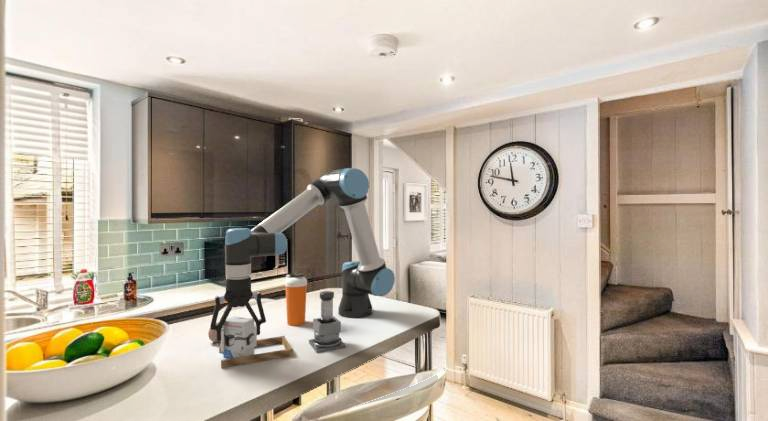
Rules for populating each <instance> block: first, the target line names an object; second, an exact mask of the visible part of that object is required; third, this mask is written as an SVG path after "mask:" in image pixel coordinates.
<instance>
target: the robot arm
mask: <svg viewBox="0 0 768 421" xmlns="http://www.w3.org/2000/svg"><path fill="white" fill-rule="evenodd" d="M369 190H370V181H369V178H368V176H367V174H366V173H365V172H364V171H363V170H361V169H359V168H355V167H347V168H346V167H345V168H341V169H332V170H328V171H327V172H325V173H323V174H322V175H320V176H318V177H317V178H316V179H315V180H313V181H312V182H311V183H309V184H308V185H307V186H306V189H305V190H304V191H302V192H301V193H300V194H298V195H297V196H296V197H294V198H293V199H292V200H290V201H289V202H287V203H286V204H285V205H283V206H282V207H281V208H279V209H278V210H276V211H274V212H273V213H272V214H271V215H270V216H268V217H267V218H265V219H264V220H263V221H261V222H260V223H259V224H257V225H256V226H254V227H253V228H251V229H250V228H247V227H244V228H243V227H241V228H240V227H238V228H237V227H236V228H228V229H227V230H226V231H225V239H224V240H225V241H224V242H225V243H224V245H225V247H224V248H225V277H226V279H225V294H224V295H220V296H219V295H216V296H215V297H214V300H215V305H214V309H213V314H212V317H211V321H210V327H209V329H210V328H211V330H216V331H217V341H219V342H220V345H221V352H220V353H223V352H224V330H223V328H222V327H223V325H224V323H225V321H226V320H227V319H228V317H229V315H230V313H231V311H232V309H233V308H238V307H239V308H240V307H241V308H243V307H246V309H247V311H248V312H249V314H250V316H251V318H252V319H254V348H256V347H257V340H258V338H257V337H258V336H259V335H260V334H261V325H262V324H266V322H267V319H266V315H265V312H264V308H263V304H262V293H261V292H260V291H257V292H253V291H252V277H250V276H251V275H252V258H256V257H257V258H258V257H268V256H277V255H278V256H279V255H283V254H284V253H285V252H286V250H287V249H288V248H287V247H288V241H287V237H286V235H285V234H284V233H283V232H284V231H286V230H287V229H288V228H290V227H291V226H292V225H293V224H295V223H296V222H298V220H300V219H301V218H302V217H303V216H306V214H308V213H309V212H310V211H312V210H313V209H314V208H315V207H317V206H321V205H324V204H326V203H327V202H328V201H331V200H334V199H336V201H337V204H338V207H339V208H341V209H343V211H344V214H345V217H346V221H347V225H348V228H349V231H350V234H351V238H352V241H353V245H354V248H355V251H356V254H357V258H358V260H353V261H346V262H344V263H343V264H342V267H341V268H342V269H341V276H342V277H341V281H342V282H341V284H342V286H341V290H342V291H341V293H342V296H341V300H340V303H339V305H338V311H337V313H338V315H339V316H341V317H346V318H363V317H364V318H365V317H368V316H370V315H373V305H372V302H371V299H370V295H373V296H374V297H384V296H387V295H389V293H390V292H391V291H392V290H393V287H394V285H395V282H396V281H395V280H396V276H395V273H394V271H393V270H391V268H388V267H387V263H386V261H385V259H384V258H382V257H381V256H380V253H379V250H378V249H379V248H378V245H377V242H376V238H375V234H374V232H373V227H372V225H371V224H372V223H371V220H370V217H369V213H368V210H367V207H366V201H368V200H367V199H368V197H367V194H368V192H369ZM252 297H253V298H254V300H255V301H256V304H257V309H258V312H259V316H260V319H258V316H257V314H256V313H255V312H254V309H253V308H252V306H251V305H250V302H249V301H250V300H251V299H252ZM224 300H225V301H226V302H227V306H226V308H225V309H224V311H223V314H222V315H221V317H220V320H219V321H217V320H218V315H219V312H220V307H221V304H222V303H223V302H224ZM216 322H218V325H216Z"/></svg>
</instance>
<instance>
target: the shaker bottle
mask: <svg viewBox="0 0 768 421" xmlns="http://www.w3.org/2000/svg"><path fill="white" fill-rule="evenodd" d="M307 286H308V280H307V278H306V277H305V273H295V272H292V273H289V274H286V276H285V280H284V287H285V303H286V321H287V322H286V323H287V325H289V326H291V327H292V326H293V327H295V326H301V325H305V323H306V313H307V312H306V309H307V308H306V307H307V306H306V305H307V290H308V289H307Z"/></svg>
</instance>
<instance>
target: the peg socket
mask: <svg viewBox="0 0 768 421" xmlns="http://www.w3.org/2000/svg"><path fill="white" fill-rule="evenodd" d="M312 322H313V323H312V329H313V330H314V331H313V332H314V338H311V339H308V344H309V345H310V346H311V348H312V349H313V350H314V352H315V353H316V354H317V353H323V352H329V351H334V350H335V351H336V350H341V349H346V346H347V345H346V344H345V342H343V340H342V338H341V337H340V333H342V322H341V321H340V320H339V319H338V318H337V317H335V316H334V315H333V322H331V323H324V324H321V317H318V318H313V319H312Z"/></svg>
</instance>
